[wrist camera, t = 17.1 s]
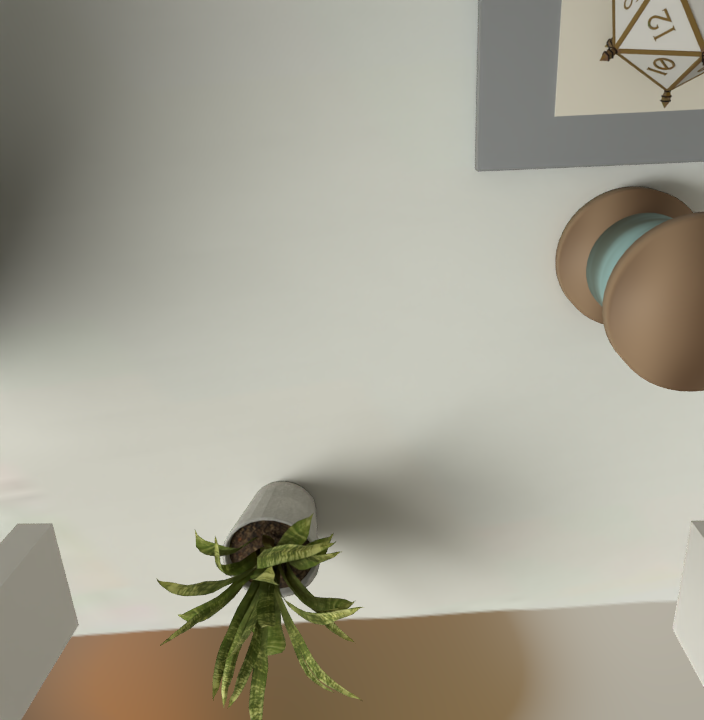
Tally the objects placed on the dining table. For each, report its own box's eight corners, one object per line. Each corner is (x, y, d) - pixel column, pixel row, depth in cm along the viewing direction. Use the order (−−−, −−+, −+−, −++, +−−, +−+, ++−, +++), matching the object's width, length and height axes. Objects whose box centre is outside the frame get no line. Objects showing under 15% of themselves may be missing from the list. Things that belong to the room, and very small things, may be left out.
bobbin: (551, 321, 45) (603, 393, 34) (560, 189, 42) (620, 220, 31) (684, 318, 44) (782, 389, 33) (704, 183, 41) (820, 212, 30)
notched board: (474, 169, 42) (478, 171, 40) (481, -131, 36) (485, -141, 34) (799, 154, 40) (816, 157, 39) (861, -160, 34) (884, -173, 33)
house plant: (389, 584, 54) (387, 770, 39) (230, 596, 56) (169, 780, 41) (365, 434, 49) (353, 581, 34) (191, 453, 51) (105, 601, 36)
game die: (655, -9, 39) (843, -117, 30) (657, 132, 39) (845, 65, 30) (545, -49, 35) (725, -188, 26) (547, 108, 35) (728, 23, 26)
